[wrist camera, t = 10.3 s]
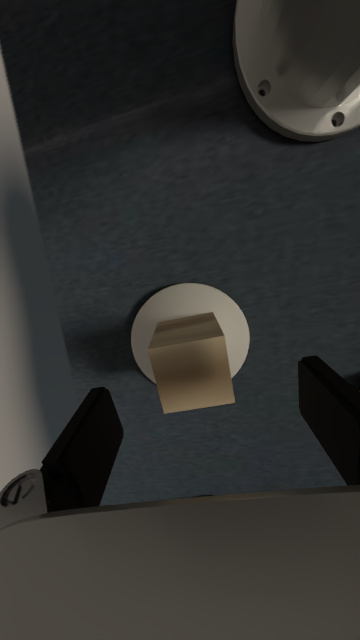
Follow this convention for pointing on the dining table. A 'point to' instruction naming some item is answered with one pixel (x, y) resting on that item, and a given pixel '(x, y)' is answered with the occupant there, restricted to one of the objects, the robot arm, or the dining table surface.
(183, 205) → the dining table surface
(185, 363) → the block
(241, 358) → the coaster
